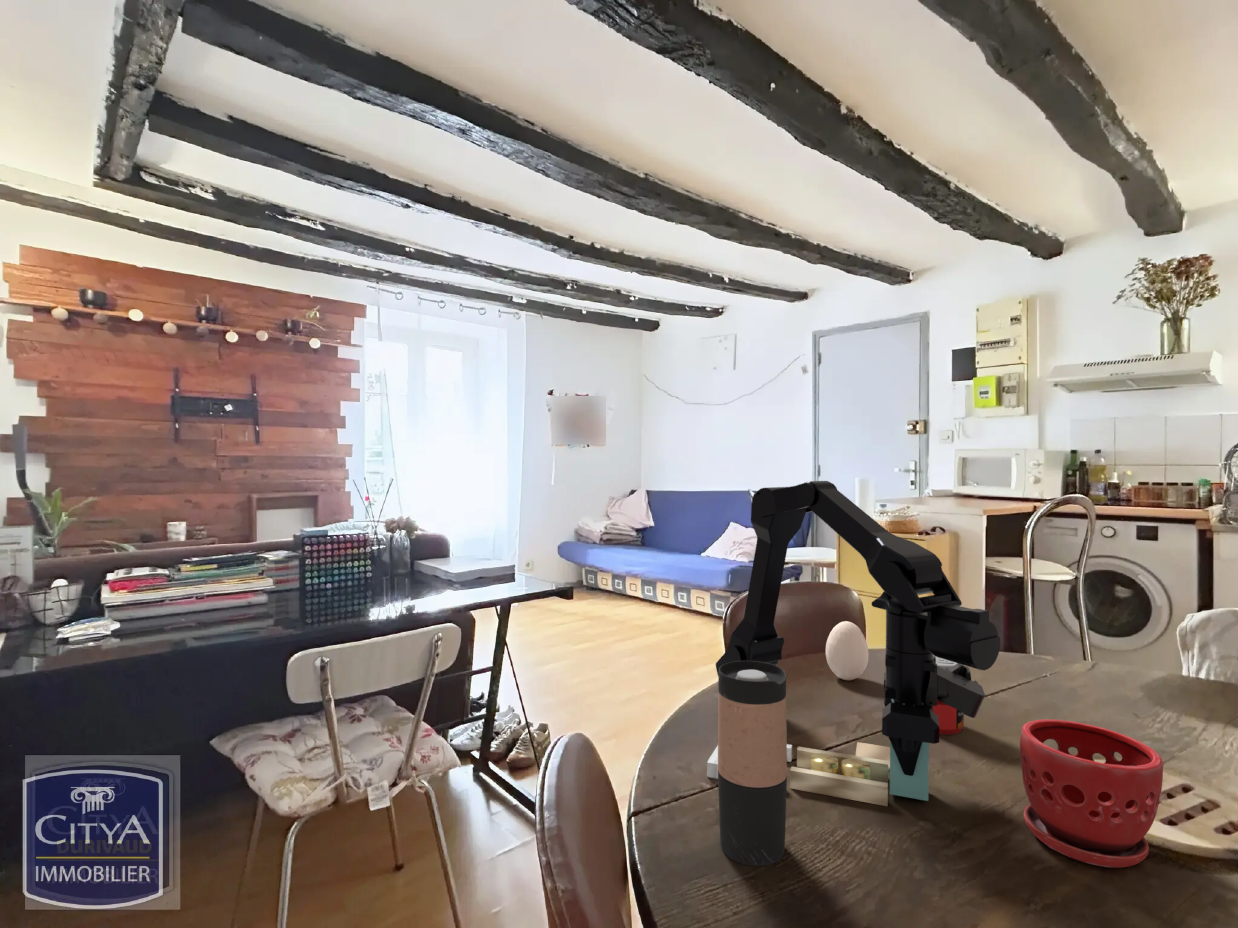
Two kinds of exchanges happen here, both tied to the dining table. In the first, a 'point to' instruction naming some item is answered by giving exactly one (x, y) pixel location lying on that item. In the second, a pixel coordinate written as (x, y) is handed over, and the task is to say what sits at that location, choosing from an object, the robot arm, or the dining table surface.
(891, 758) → the block
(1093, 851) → the plant pot
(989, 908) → the dining table surface
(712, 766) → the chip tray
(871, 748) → the cork pad
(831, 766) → the gold rounded lump
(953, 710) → the canned food
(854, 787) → the slot rails
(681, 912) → the dining table surface
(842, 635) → the egg
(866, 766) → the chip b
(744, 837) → the travel mug
